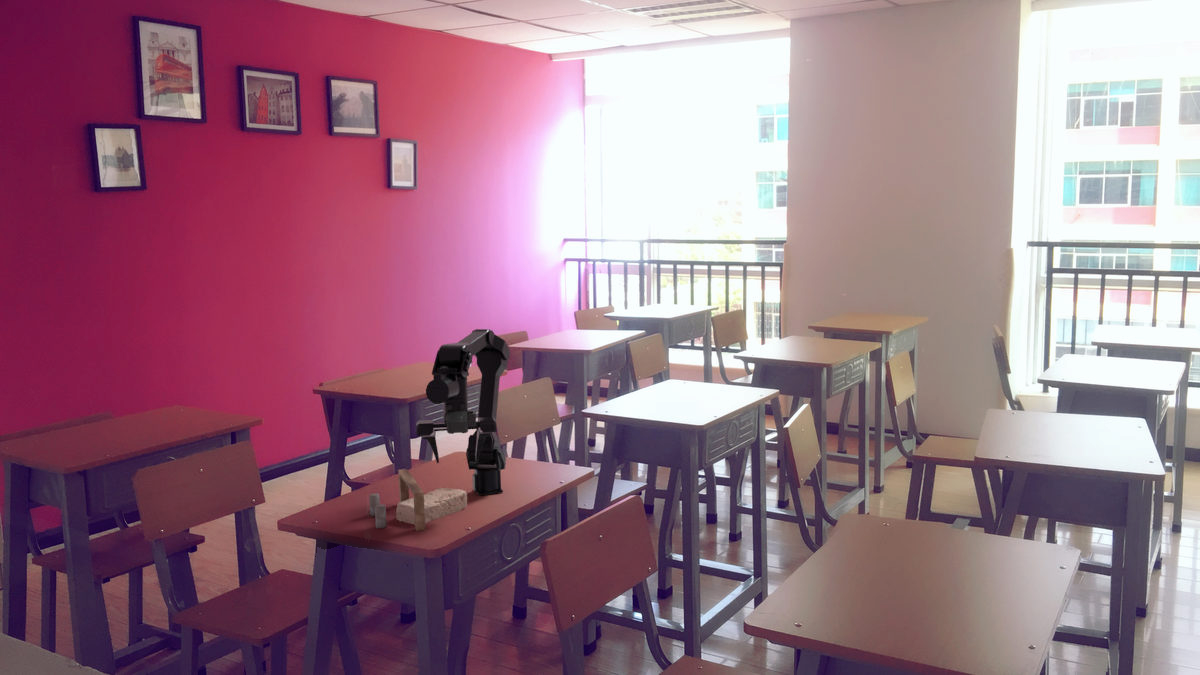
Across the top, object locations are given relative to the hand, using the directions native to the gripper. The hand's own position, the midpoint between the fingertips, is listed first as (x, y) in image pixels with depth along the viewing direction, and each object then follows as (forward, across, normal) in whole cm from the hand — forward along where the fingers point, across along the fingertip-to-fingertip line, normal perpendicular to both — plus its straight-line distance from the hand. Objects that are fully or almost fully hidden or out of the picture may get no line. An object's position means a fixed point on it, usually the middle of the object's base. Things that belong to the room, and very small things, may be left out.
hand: (457, 461), depth 223 cm
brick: (+13, -6, +2) cm, 15 cm away
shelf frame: (+13, -15, 0) cm, 20 cm away
